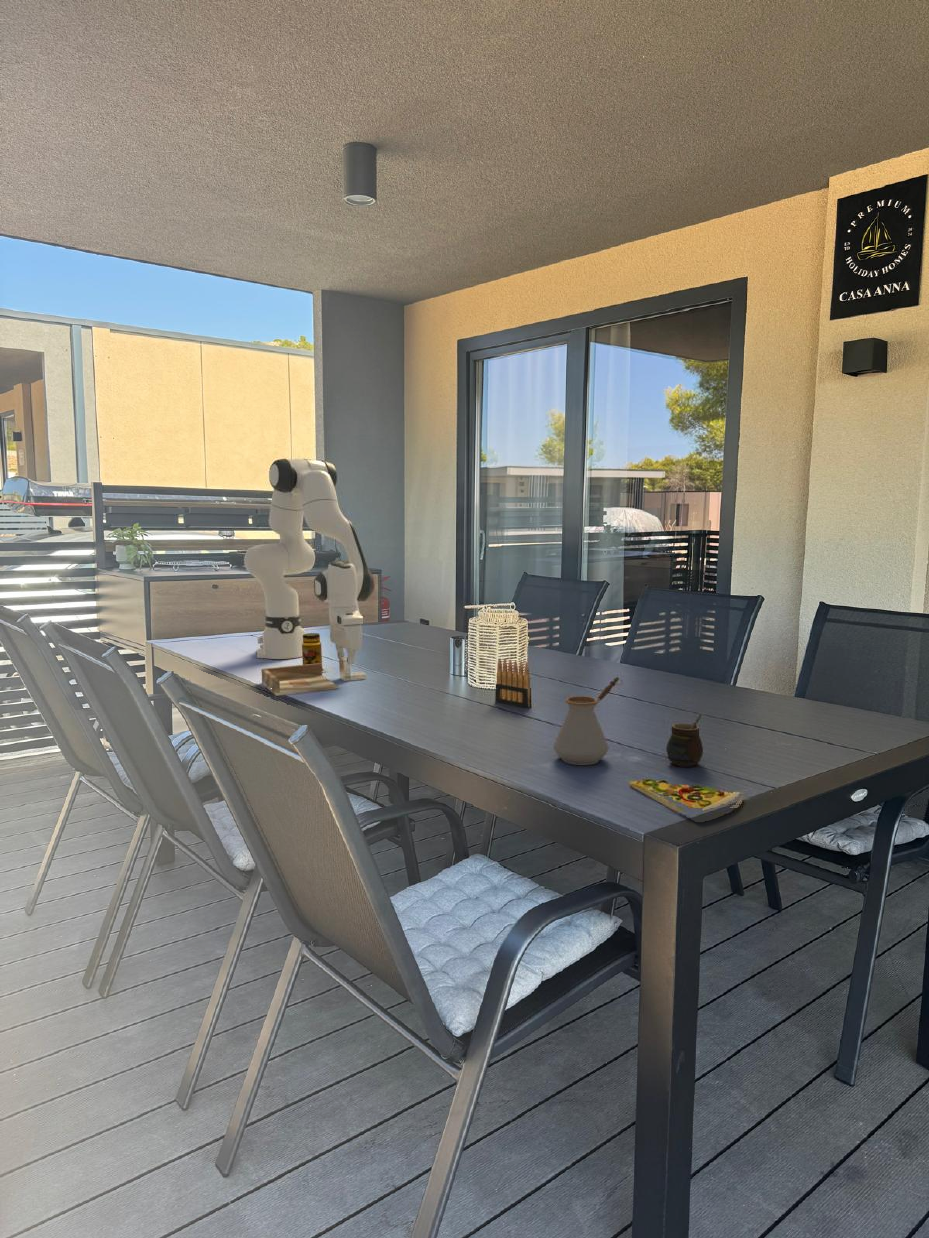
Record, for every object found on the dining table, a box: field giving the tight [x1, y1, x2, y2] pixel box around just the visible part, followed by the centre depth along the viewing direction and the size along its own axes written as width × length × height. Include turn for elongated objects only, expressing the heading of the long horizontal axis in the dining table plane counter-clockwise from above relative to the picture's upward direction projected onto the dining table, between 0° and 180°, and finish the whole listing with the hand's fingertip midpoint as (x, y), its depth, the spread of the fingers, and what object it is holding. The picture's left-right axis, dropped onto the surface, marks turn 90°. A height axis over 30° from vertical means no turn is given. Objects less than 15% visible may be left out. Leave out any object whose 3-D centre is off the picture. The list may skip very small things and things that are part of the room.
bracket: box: [338, 656, 367, 682], centre depth 256 cm, size 7×4×6 cm, turn 115°
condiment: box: [301, 632, 328, 673], centre depth 267 cm, size 7×8×12 cm
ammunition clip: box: [494, 657, 533, 709], centre depth 222 cm, size 11×2×12 cm, turn 51°
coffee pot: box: [553, 676, 624, 766], centre depth 180 cm, size 21×12×15 cm, turn 140°
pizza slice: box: [629, 778, 744, 814], centre depth 154 cm, size 16×21×3 cm
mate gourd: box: [665, 713, 704, 768], centre depth 173 cm, size 7×8×10 cm
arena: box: [260, 663, 339, 697], centre depth 247 cm, size 18×18×4 cm
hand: (345, 661), depth 254 cm, fingers open, 8 cm apart
